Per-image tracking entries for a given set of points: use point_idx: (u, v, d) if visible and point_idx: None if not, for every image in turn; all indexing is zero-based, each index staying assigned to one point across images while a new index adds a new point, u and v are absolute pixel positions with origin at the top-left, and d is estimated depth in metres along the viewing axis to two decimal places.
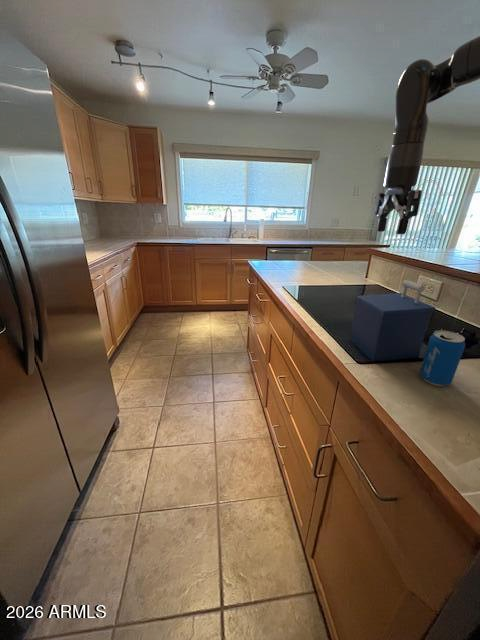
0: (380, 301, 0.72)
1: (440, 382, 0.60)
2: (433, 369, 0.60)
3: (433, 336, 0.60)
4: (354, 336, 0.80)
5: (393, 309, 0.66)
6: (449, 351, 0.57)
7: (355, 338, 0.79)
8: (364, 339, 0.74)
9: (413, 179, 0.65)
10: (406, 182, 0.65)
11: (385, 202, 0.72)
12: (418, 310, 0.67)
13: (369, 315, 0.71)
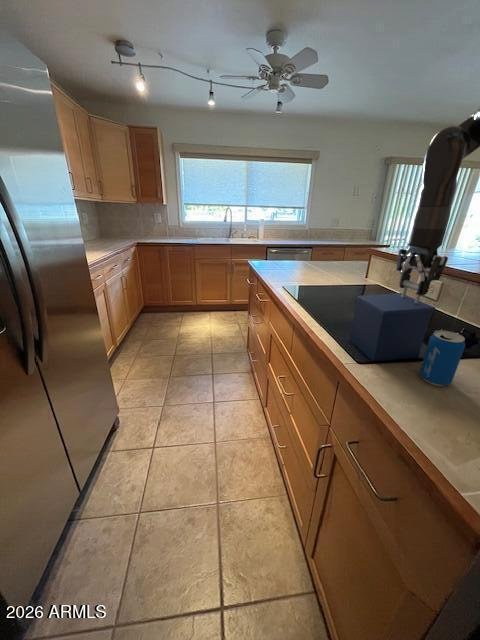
0: (380, 301, 0.72)
1: (440, 382, 0.60)
2: (433, 369, 0.60)
3: (433, 336, 0.60)
4: (354, 336, 0.80)
5: (393, 309, 0.66)
6: (449, 351, 0.57)
7: (355, 338, 0.79)
8: (364, 339, 0.74)
9: (439, 241, 0.63)
10: (432, 244, 0.63)
11: (408, 259, 0.70)
12: (418, 310, 0.67)
13: (369, 315, 0.71)
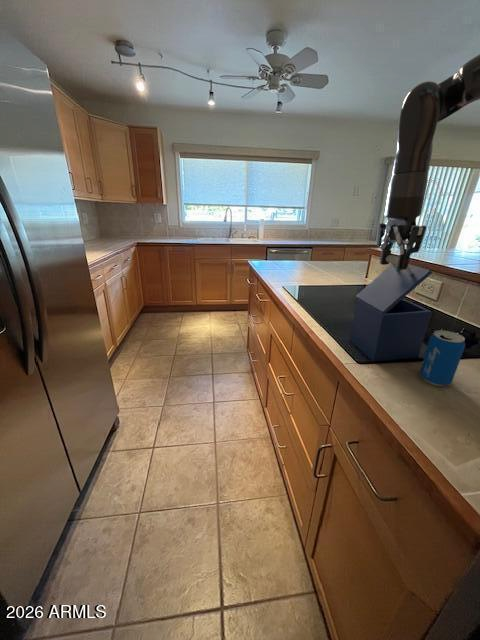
0: (377, 293, 0.71)
1: (440, 382, 0.60)
2: (433, 369, 0.60)
3: (433, 336, 0.60)
4: (354, 336, 0.80)
5: (390, 302, 0.65)
6: (449, 351, 0.57)
7: (355, 338, 0.79)
8: (364, 339, 0.74)
9: (417, 210, 0.59)
10: (410, 213, 0.59)
11: (387, 232, 0.66)
12: (415, 285, 0.64)
13: (369, 315, 0.71)
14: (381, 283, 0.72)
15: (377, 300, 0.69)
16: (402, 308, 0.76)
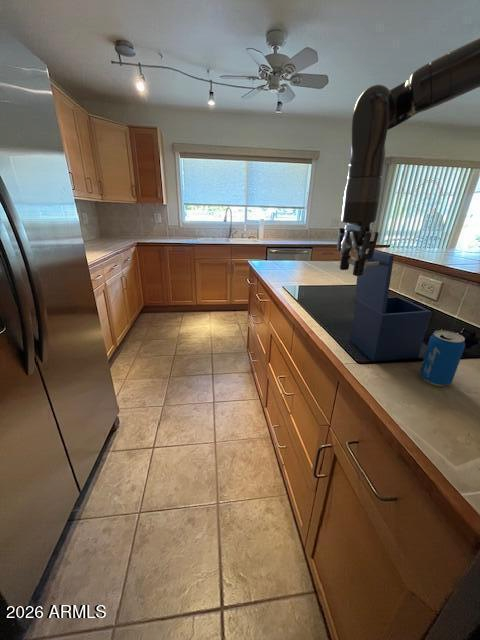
0: (367, 291, 0.70)
1: (440, 382, 0.60)
2: (433, 369, 0.60)
3: (433, 336, 0.60)
4: (354, 336, 0.80)
5: (381, 300, 0.65)
6: (449, 351, 0.57)
7: (355, 338, 0.79)
8: (364, 339, 0.74)
9: (371, 216, 0.58)
10: (363, 219, 0.58)
11: (344, 237, 0.65)
12: (389, 275, 0.62)
13: (369, 315, 0.71)
14: (364, 278, 0.71)
15: (371, 300, 0.69)
16: (402, 308, 0.76)
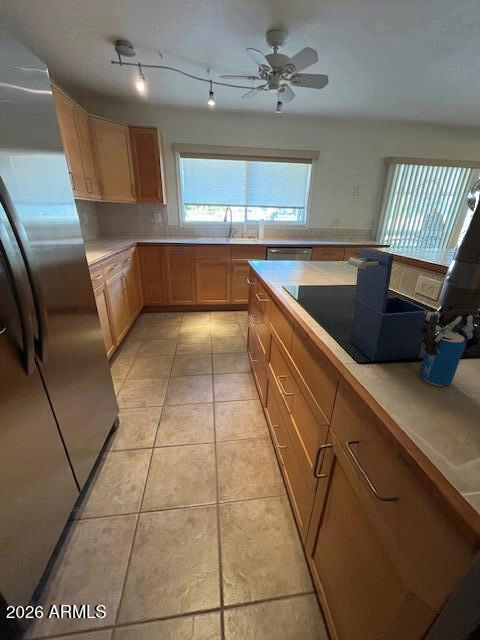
0: (367, 291, 0.70)
1: (440, 382, 0.60)
2: (433, 369, 0.60)
3: None
4: (354, 336, 0.80)
5: (381, 300, 0.65)
6: (449, 351, 0.57)
7: (355, 338, 0.79)
8: (364, 339, 0.74)
9: (450, 300, 0.54)
10: (442, 300, 0.56)
11: None
12: (388, 275, 0.62)
13: (369, 315, 0.71)
14: (364, 278, 0.71)
15: (371, 300, 0.69)
16: (402, 308, 0.76)
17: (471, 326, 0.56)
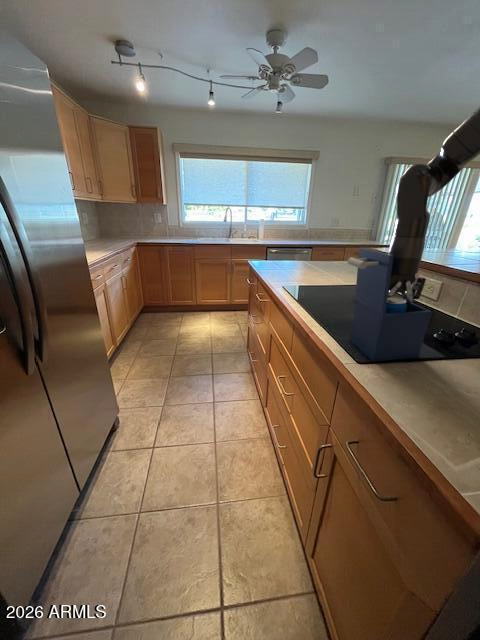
0: (367, 291, 0.70)
1: None
2: None
3: None
4: (354, 336, 0.80)
5: (381, 300, 0.65)
6: (393, 311, 0.70)
7: (355, 338, 0.79)
8: (364, 339, 0.74)
9: None
10: None
11: None
12: (388, 275, 0.62)
13: (369, 315, 0.71)
14: (364, 278, 0.71)
15: (371, 300, 0.69)
16: None
17: (410, 290, 0.69)
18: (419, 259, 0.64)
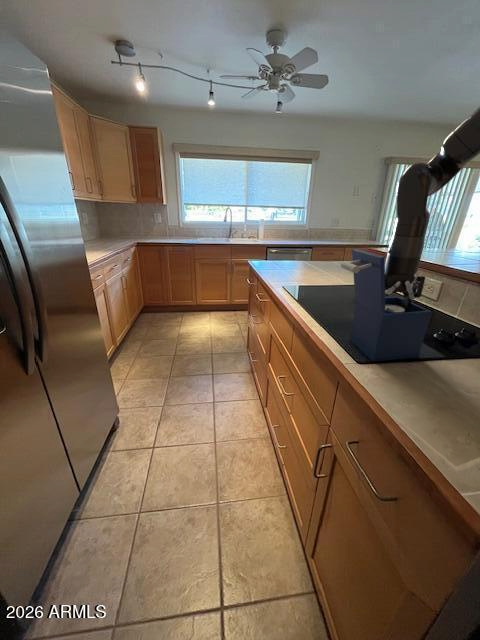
0: (365, 292, 0.70)
1: None
2: None
3: None
4: (354, 336, 0.80)
5: (379, 301, 0.65)
6: None
7: (355, 338, 0.79)
8: (364, 339, 0.74)
9: (390, 268, 0.67)
10: (385, 268, 0.69)
11: None
12: (382, 277, 0.62)
13: (369, 315, 0.71)
14: (360, 279, 0.71)
15: (370, 300, 0.69)
16: None
17: (410, 289, 0.69)
18: (418, 258, 0.64)
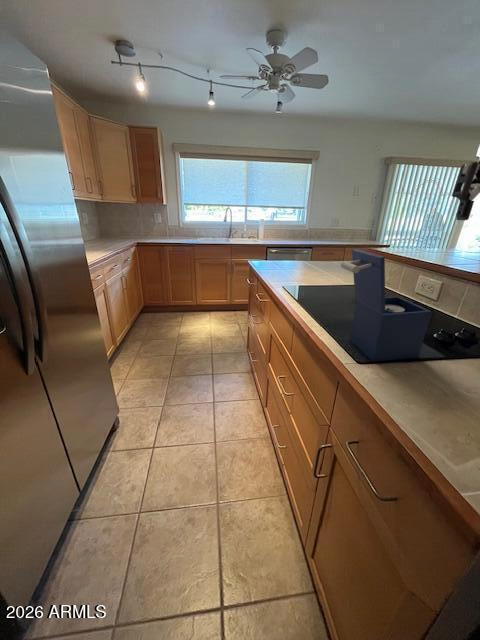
0: (365, 292, 0.70)
1: None
2: None
3: None
4: (354, 336, 0.80)
5: (379, 301, 0.65)
6: None
7: (355, 338, 0.79)
8: (364, 339, 0.74)
9: None
10: None
11: None
12: (382, 277, 0.62)
13: (369, 315, 0.71)
14: (360, 279, 0.71)
15: (370, 300, 0.69)
16: None
17: None
18: None
